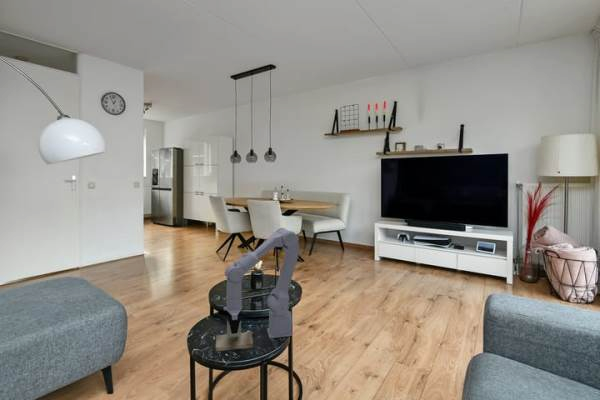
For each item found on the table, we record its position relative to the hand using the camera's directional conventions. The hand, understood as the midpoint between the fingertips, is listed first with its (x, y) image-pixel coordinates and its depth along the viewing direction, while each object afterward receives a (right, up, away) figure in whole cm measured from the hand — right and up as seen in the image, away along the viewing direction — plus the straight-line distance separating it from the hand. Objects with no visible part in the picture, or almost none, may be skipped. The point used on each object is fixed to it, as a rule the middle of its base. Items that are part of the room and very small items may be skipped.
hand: (234, 329), depth 122 cm
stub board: (0, -6, 0) cm, 6 cm away
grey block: (0, -2, 0) cm, 2 cm away
